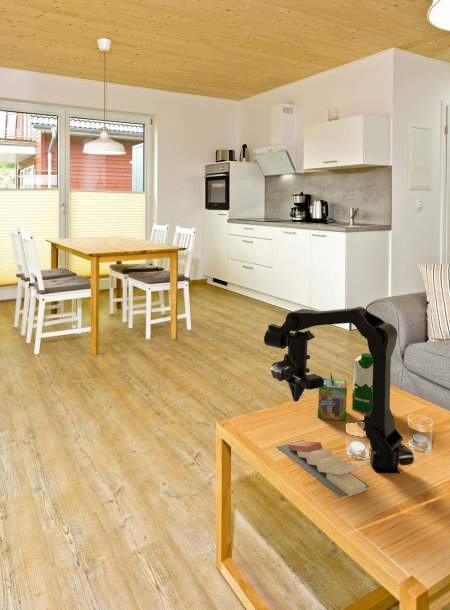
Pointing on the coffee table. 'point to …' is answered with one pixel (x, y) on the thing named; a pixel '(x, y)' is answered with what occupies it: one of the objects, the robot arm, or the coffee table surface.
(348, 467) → the domino
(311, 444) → the domino
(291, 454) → the mat
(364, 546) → the coffee table surface
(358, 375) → the milk carton
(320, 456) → the domino
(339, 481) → the domino
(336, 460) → the domino
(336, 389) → the juice carton
